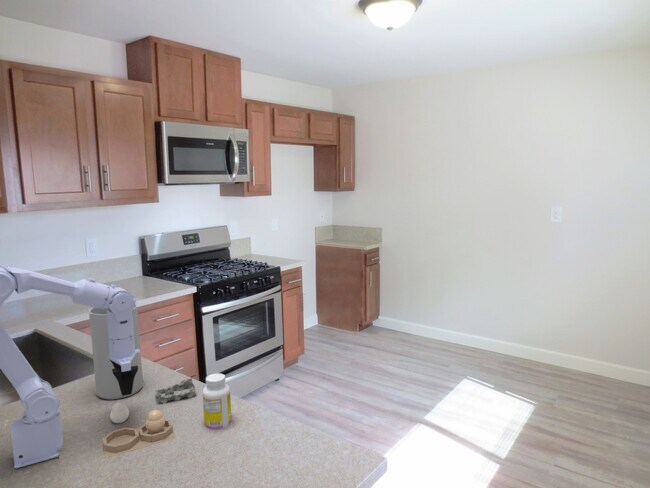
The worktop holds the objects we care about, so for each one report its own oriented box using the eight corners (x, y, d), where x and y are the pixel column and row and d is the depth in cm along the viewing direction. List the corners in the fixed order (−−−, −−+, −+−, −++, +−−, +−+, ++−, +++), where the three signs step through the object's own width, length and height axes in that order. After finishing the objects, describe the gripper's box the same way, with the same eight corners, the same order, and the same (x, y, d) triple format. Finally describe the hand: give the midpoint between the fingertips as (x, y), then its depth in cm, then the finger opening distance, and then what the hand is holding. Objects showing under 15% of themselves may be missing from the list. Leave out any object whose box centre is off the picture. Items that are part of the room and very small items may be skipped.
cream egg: (111, 430, 109) (109, 408, 108) (110, 422, 112) (108, 401, 112) (130, 425, 111) (129, 404, 110) (128, 417, 115) (127, 396, 114)
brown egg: (147, 440, 102) (146, 417, 102) (144, 431, 106) (143, 409, 105) (167, 434, 105) (165, 412, 104) (163, 425, 108) (162, 404, 108)
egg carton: (194, 390, 130) (193, 377, 129) (197, 402, 123) (196, 388, 122) (155, 397, 126) (154, 383, 125) (156, 409, 119) (155, 395, 118)
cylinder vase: (148, 391, 128) (142, 309, 125) (101, 405, 121) (93, 317, 117) (137, 377, 138) (131, 299, 135) (92, 388, 131) (85, 307, 127)
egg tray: (105, 462, 96) (104, 451, 96) (102, 441, 104) (101, 432, 103) (176, 441, 104) (175, 431, 103) (168, 423, 111) (167, 414, 111)
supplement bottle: (222, 415, 115) (220, 369, 113) (237, 425, 110) (234, 376, 108) (199, 425, 110) (196, 377, 108) (213, 436, 105) (210, 385, 104)
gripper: (143, 342, 104) (146, 396, 106) (135, 325, 117) (138, 374, 119) (110, 347, 101) (114, 403, 103) (105, 330, 113) (109, 379, 115)
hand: (125, 388), depth 111 cm, fingers open, 7 cm apart
